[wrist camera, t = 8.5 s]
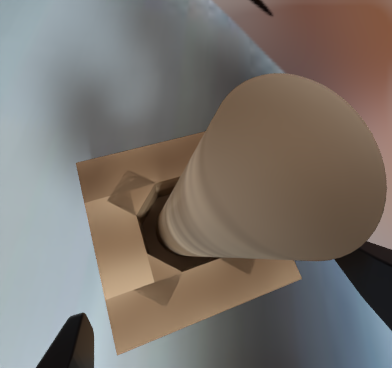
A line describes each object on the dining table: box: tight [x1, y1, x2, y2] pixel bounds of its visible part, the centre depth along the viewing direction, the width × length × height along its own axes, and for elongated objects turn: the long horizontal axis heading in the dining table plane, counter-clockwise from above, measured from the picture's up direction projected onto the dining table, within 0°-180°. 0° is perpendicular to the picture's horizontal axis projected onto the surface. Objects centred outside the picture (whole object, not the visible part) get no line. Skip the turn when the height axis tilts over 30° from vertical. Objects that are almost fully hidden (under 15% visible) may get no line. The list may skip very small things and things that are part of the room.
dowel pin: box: [156, 73, 387, 261], centre depth 12 cm, size 4×4×14 cm
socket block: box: [76, 131, 302, 355], centre depth 17 cm, size 11×11×4 cm
